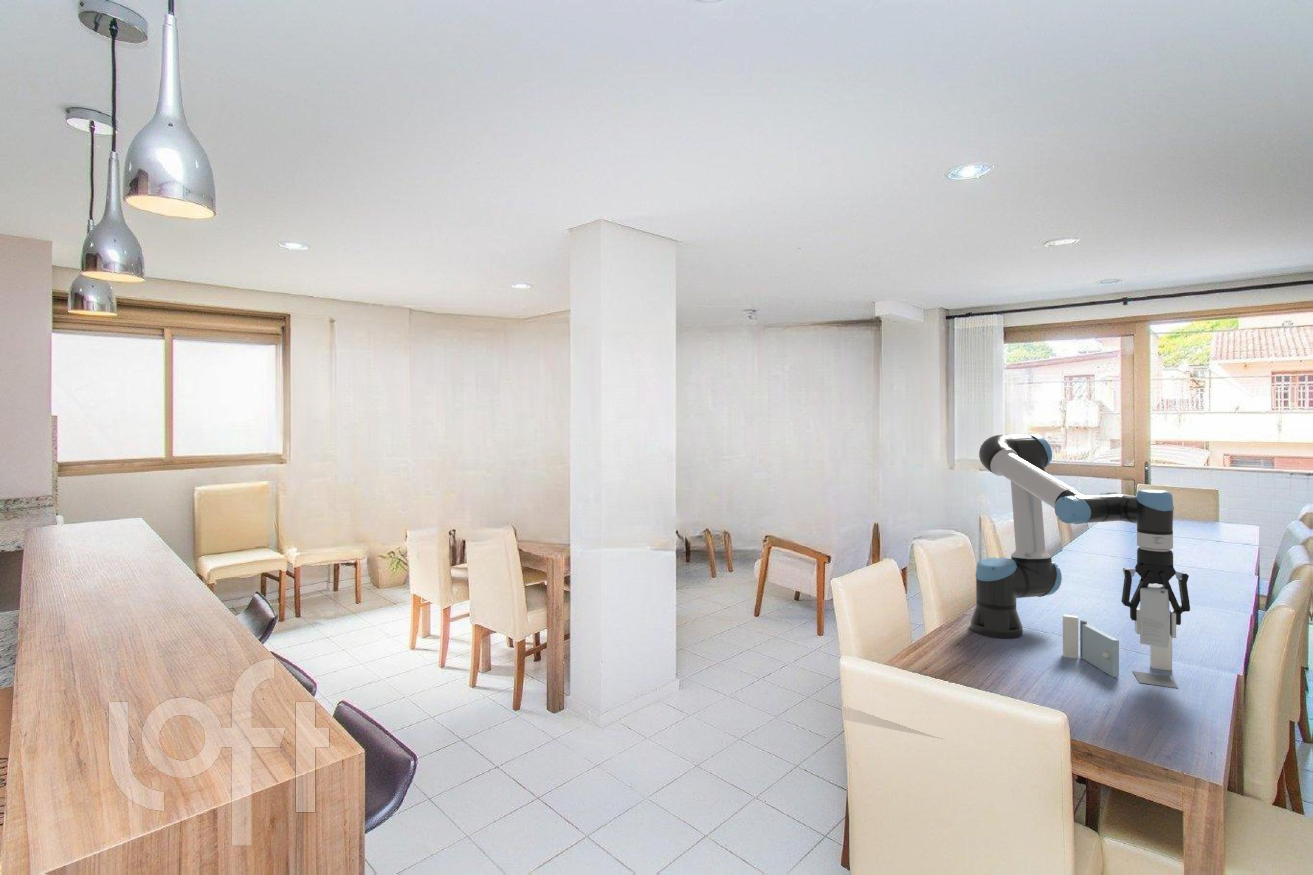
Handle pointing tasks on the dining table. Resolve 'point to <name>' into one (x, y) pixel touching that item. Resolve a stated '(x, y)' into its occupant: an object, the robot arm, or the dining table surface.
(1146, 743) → the dining table surface
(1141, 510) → the robot arm
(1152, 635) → the skincare box
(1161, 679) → the mat
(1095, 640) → the door
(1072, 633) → the wall
